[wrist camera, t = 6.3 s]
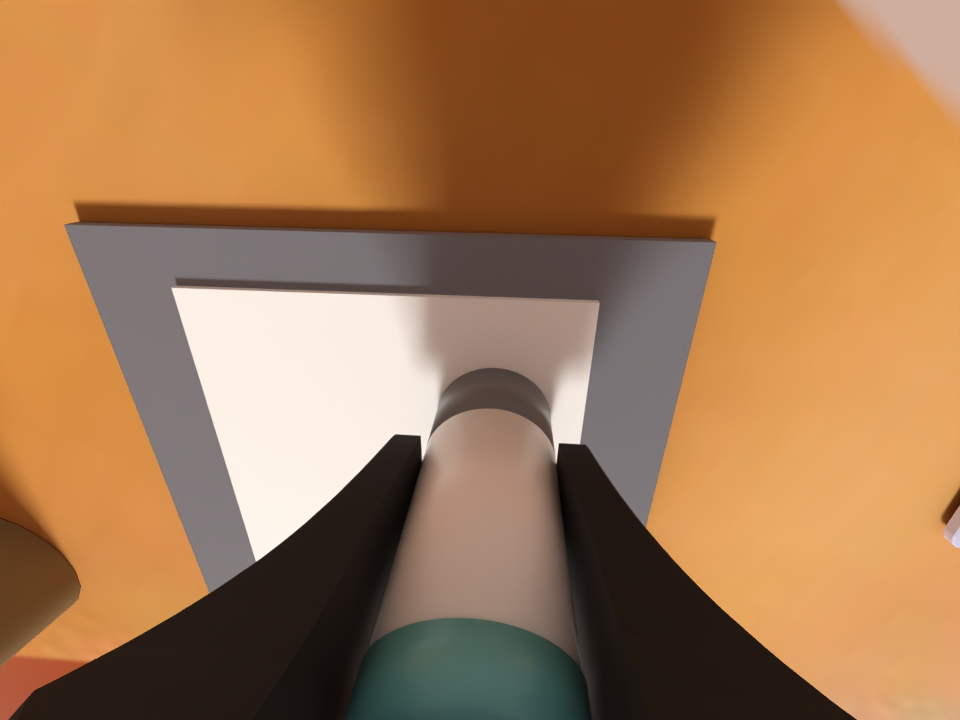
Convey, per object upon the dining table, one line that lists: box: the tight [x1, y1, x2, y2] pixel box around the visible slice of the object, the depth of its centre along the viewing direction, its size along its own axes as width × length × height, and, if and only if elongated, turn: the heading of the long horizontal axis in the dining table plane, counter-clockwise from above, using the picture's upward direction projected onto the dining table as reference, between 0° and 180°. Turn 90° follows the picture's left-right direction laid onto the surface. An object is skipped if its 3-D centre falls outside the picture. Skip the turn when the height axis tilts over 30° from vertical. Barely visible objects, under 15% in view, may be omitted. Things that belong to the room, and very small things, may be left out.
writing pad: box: [65, 222, 716, 593], centre depth 14 cm, size 16×16×1 cm
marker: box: [344, 368, 592, 720], centre depth 9 cm, size 3×3×8 cm
